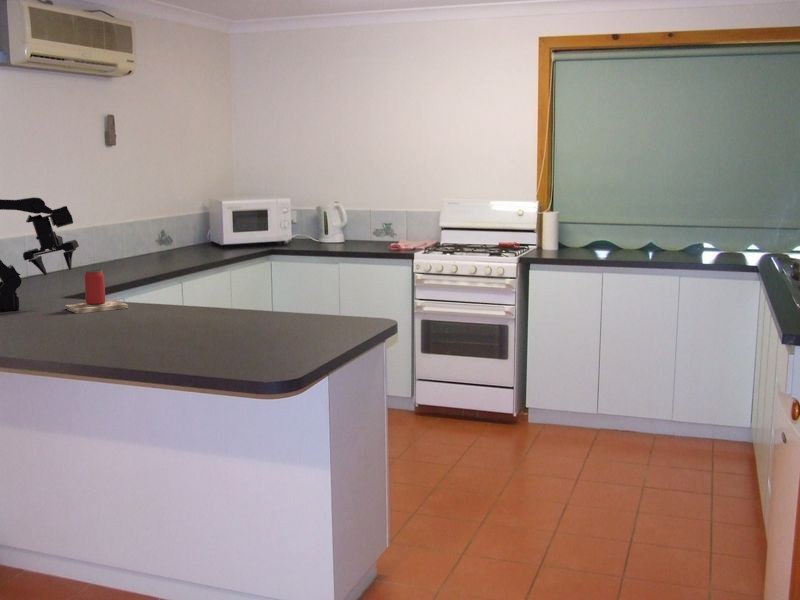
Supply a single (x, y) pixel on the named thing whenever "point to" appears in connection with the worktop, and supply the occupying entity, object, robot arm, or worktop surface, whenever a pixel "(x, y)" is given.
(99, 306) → the ash board
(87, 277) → the beer can
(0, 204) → the robot arm
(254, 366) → the worktop surface
